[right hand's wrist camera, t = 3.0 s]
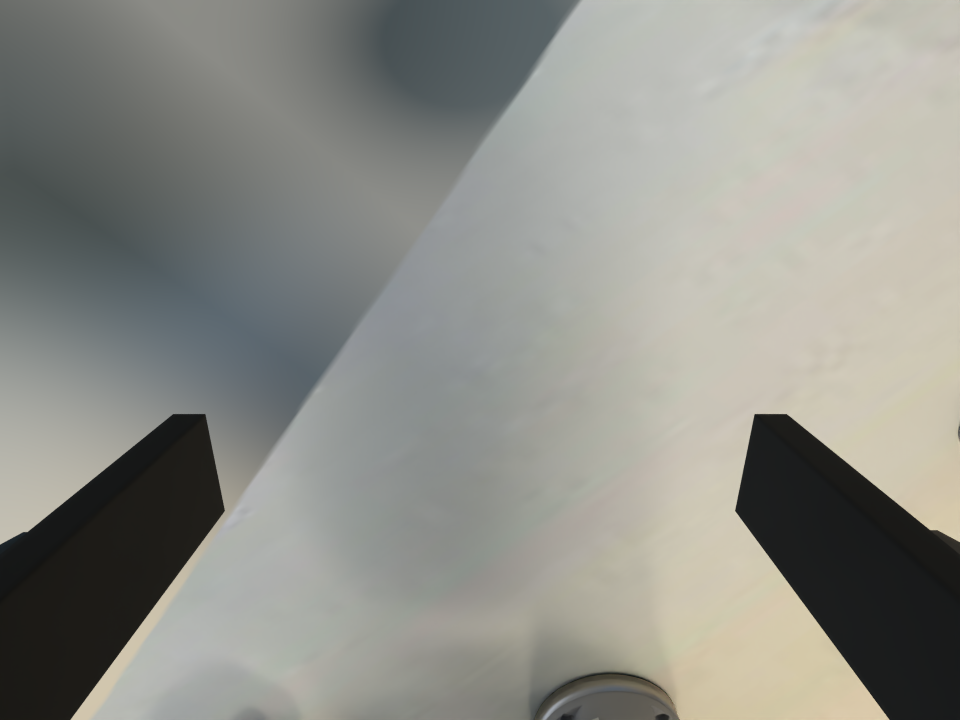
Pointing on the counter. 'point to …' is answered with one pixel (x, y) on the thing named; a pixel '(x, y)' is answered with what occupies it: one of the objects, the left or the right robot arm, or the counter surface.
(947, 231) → the counter surface
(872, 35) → the counter surface
